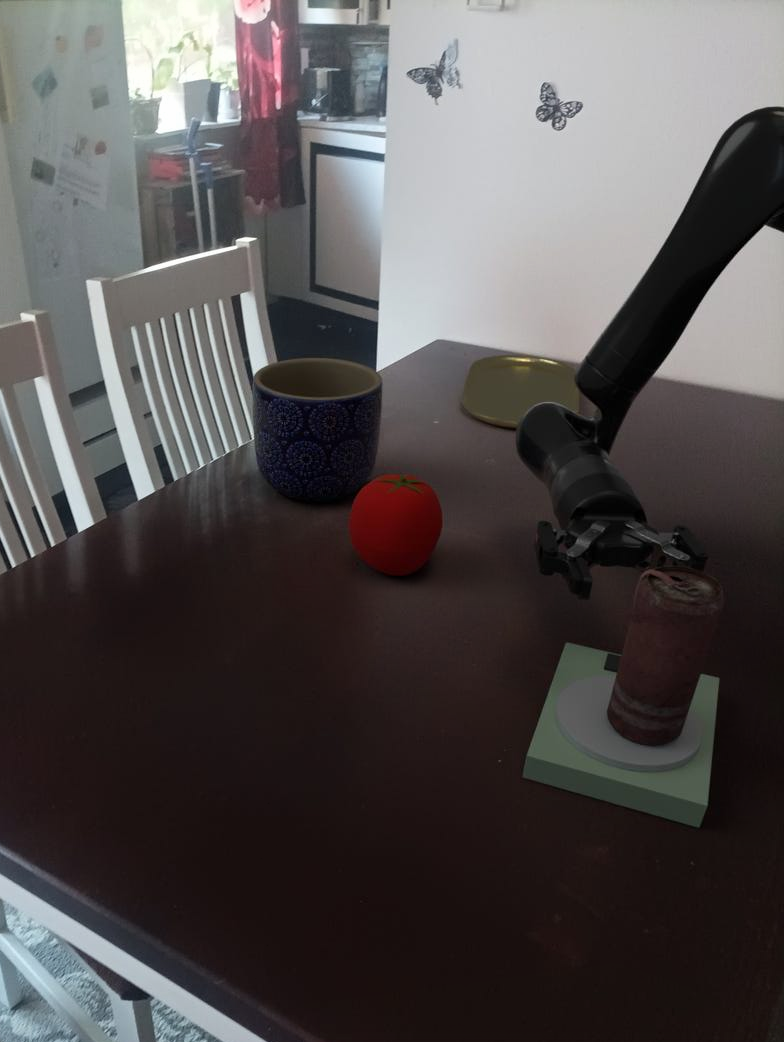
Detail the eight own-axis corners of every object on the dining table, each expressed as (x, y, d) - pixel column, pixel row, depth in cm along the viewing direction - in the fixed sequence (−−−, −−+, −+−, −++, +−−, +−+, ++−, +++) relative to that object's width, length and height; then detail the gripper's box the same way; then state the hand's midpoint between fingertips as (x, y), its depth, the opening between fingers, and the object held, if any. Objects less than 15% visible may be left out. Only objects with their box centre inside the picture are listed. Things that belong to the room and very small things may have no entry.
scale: (561, 662, 89) (567, 635, 87) (712, 699, 84) (722, 670, 82) (522, 777, 75) (528, 747, 73) (699, 828, 71) (710, 798, 69)
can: (611, 693, 79) (648, 554, 71) (686, 716, 77) (733, 574, 69) (594, 732, 75) (631, 588, 67) (673, 757, 72) (721, 611, 65)
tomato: (358, 591, 99) (363, 502, 93) (340, 546, 108) (343, 462, 102) (450, 584, 101) (460, 496, 95) (425, 540, 109) (433, 457, 103)
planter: (330, 452, 131) (334, 350, 123) (401, 494, 120) (410, 384, 112) (232, 477, 124) (228, 370, 115) (297, 524, 112) (298, 408, 104)
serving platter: (454, 426, 140) (455, 416, 140) (473, 359, 168) (474, 351, 168) (577, 438, 137) (579, 428, 136) (576, 368, 165) (578, 359, 164)
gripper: (528, 469, 87) (560, 550, 73) (677, 473, 86) (737, 556, 73) (516, 538, 91) (545, 627, 77) (658, 542, 90) (712, 633, 77)
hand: (638, 592), depth 75 cm, fingers open, 8 cm apart
